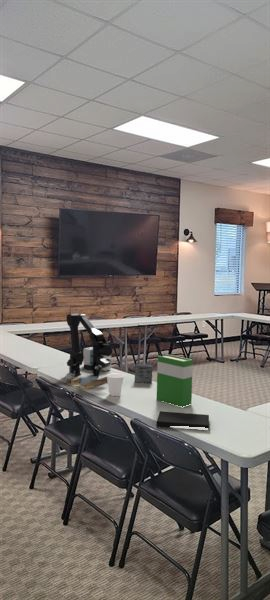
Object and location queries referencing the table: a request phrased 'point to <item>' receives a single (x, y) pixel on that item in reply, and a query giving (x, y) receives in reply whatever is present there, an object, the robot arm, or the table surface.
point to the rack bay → (89, 384)
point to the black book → (182, 419)
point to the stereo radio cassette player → (88, 358)
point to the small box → (143, 373)
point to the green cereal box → (174, 380)
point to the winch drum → (69, 377)
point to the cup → (115, 383)
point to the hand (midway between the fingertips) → (96, 378)
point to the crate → (88, 379)
